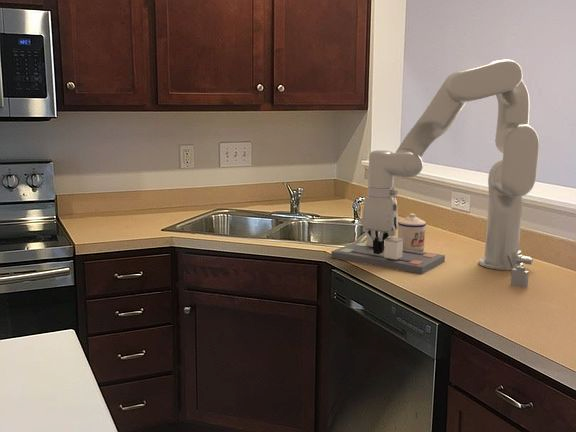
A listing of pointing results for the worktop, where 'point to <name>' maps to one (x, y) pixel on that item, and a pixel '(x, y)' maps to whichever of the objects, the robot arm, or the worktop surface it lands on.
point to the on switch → (369, 240)
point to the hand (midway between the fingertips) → (378, 253)
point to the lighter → (516, 273)
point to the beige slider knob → (393, 248)
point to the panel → (407, 262)
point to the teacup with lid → (412, 232)
